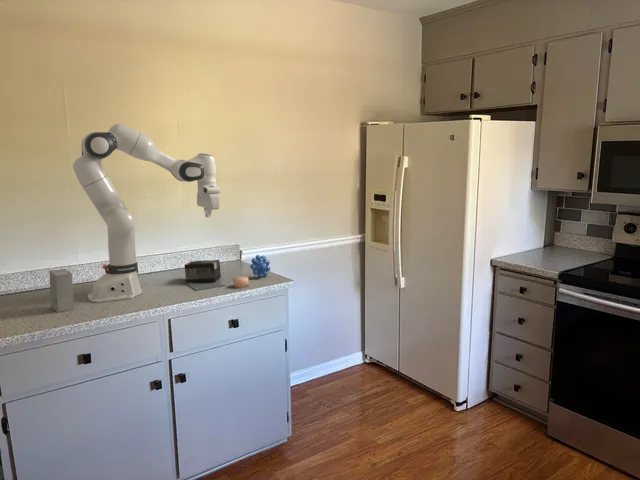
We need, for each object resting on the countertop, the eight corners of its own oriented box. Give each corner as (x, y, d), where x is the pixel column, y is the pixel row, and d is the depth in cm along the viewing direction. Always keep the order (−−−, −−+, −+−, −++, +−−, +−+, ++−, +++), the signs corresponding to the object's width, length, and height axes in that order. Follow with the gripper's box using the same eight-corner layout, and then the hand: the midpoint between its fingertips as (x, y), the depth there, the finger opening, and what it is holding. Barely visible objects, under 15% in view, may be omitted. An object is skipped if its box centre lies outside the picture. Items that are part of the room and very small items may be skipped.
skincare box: (50, 308, 199) (46, 270, 196) (69, 304, 204) (65, 267, 201) (57, 313, 193) (53, 274, 190) (76, 309, 198) (72, 271, 195)
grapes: (255, 281, 238) (254, 257, 236) (248, 278, 243) (247, 255, 241) (275, 277, 246) (274, 254, 243) (267, 274, 251) (267, 252, 249)
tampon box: (213, 262, 232) (183, 264, 233) (215, 281, 233) (185, 283, 234) (219, 259, 243) (191, 260, 244) (221, 277, 244) (192, 278, 245)
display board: (196, 290, 223) (196, 289, 223) (186, 284, 233) (186, 283, 233) (225, 285, 231) (225, 284, 231) (214, 279, 241) (214, 278, 241)
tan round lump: (237, 289, 225) (237, 281, 225) (231, 285, 231) (231, 277, 230) (251, 286, 229) (251, 278, 229) (244, 283, 235) (244, 275, 234)
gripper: (193, 187, 237) (194, 215, 239) (208, 190, 220) (209, 220, 223) (205, 186, 240) (206, 214, 243) (221, 189, 224) (222, 219, 226)
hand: (208, 217), depth 232 cm, fingers closed
